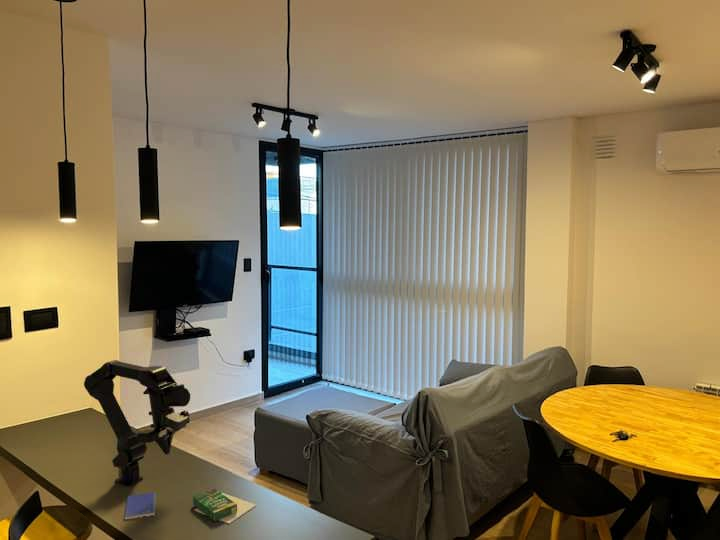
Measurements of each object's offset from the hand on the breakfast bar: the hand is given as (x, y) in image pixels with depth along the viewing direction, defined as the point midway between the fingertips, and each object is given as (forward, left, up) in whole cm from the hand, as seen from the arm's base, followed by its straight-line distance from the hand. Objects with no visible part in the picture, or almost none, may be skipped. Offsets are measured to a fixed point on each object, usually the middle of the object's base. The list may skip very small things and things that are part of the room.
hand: (167, 454), depth 178 cm
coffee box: (+15, +1, -11) cm, 18 cm away
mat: (+23, +2, -12) cm, 26 cm away
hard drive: (+1, -11, -13) cm, 17 cm away
